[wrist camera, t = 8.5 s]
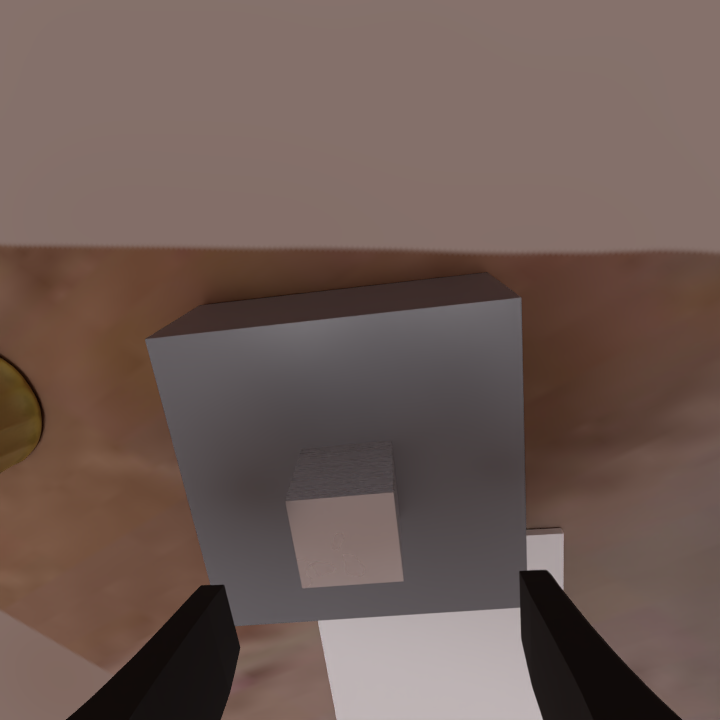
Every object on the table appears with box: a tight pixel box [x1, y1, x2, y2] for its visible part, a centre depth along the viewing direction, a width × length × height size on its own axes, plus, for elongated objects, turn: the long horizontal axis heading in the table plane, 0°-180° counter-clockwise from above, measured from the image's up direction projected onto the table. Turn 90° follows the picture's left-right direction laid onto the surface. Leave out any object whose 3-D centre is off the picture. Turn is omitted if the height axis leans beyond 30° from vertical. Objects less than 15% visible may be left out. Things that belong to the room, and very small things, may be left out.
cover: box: [145, 272, 527, 626], centre depth 18 cm, size 12×12×8 cm
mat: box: [318, 528, 564, 720], centre depth 25 cm, size 12×12×1 cm
